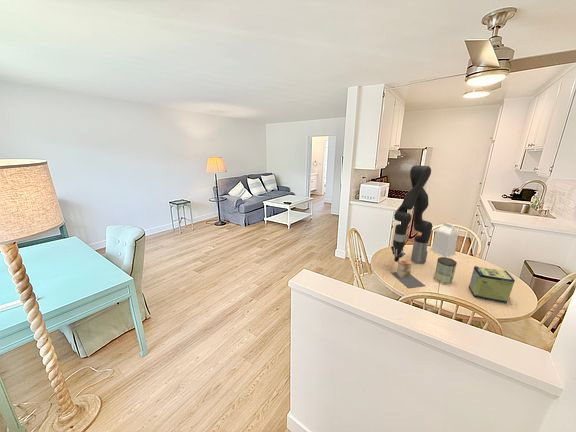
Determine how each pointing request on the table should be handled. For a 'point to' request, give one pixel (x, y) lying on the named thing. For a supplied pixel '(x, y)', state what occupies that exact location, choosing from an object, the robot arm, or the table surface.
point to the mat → (409, 281)
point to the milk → (445, 240)
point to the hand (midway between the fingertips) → (396, 261)
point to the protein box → (491, 284)
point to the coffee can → (445, 270)
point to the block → (404, 268)
